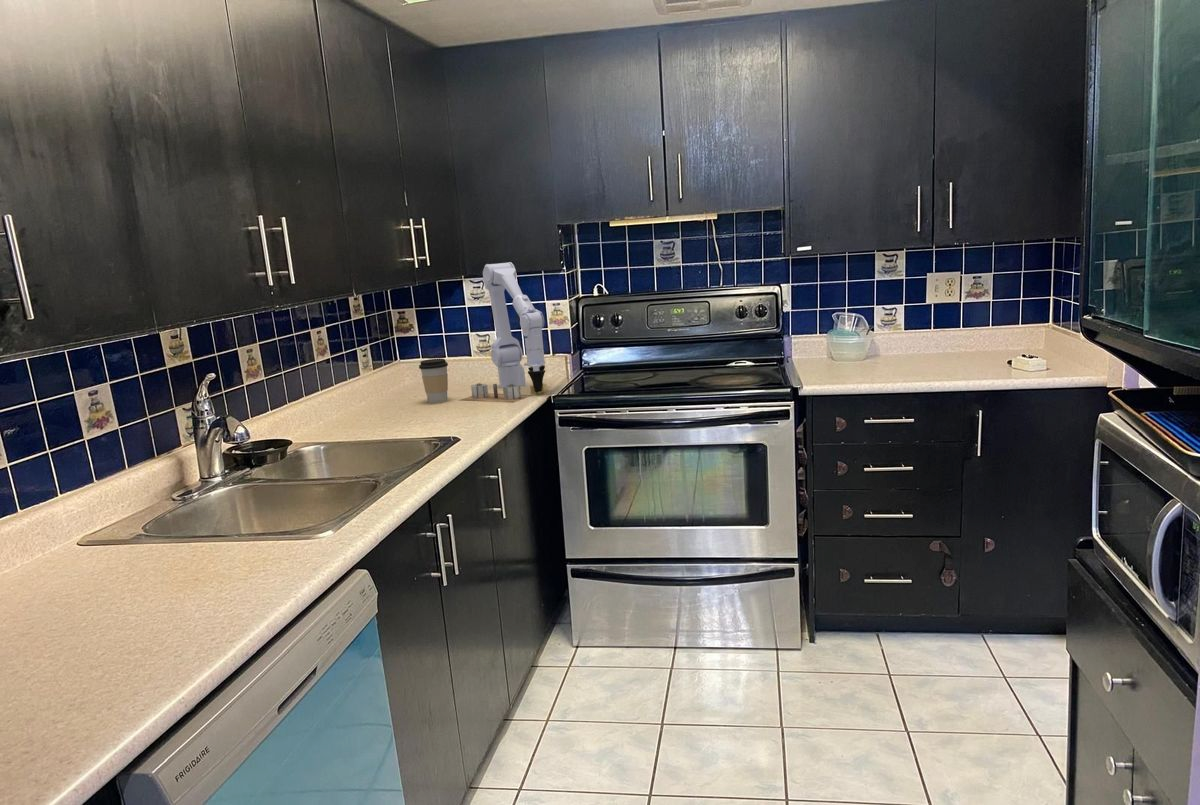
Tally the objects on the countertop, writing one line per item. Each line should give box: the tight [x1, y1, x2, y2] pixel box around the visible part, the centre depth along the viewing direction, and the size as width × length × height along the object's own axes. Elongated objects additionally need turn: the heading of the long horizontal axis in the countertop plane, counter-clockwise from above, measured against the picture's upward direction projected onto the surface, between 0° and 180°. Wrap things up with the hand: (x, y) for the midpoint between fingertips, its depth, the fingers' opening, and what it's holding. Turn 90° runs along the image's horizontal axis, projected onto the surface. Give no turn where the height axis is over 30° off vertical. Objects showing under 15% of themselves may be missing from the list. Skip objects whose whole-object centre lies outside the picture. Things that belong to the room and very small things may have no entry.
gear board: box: [458, 382, 534, 404], centre depth 266 cm, size 12×22×6 cm, turn 61°
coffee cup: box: [418, 358, 449, 404], centre depth 267 cm, size 9×9×15 cm
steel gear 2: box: [502, 384, 522, 400], centre depth 262 cm, size 5×5×4 cm
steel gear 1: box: [470, 383, 489, 399], centre depth 269 cm, size 5×5×4 cm
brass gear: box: [529, 382, 548, 395], centre depth 269 cm, size 5×5×4 cm
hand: (538, 389), depth 269 cm, fingers open, 7 cm apart
